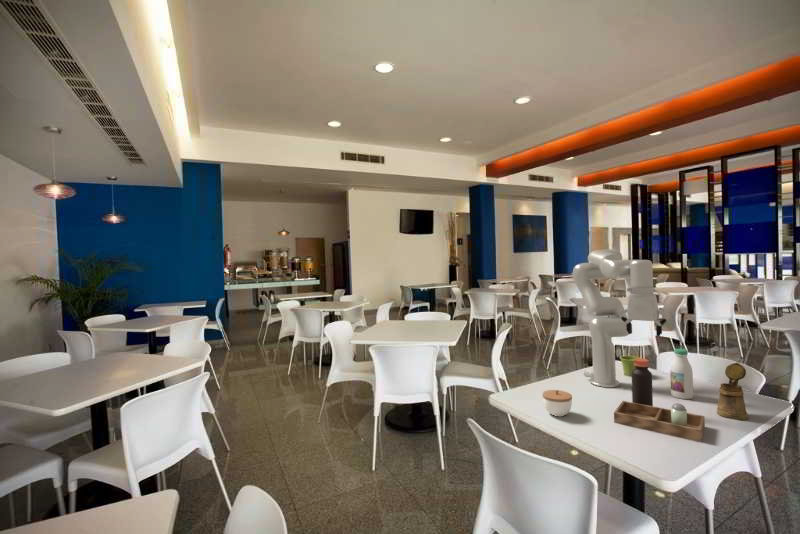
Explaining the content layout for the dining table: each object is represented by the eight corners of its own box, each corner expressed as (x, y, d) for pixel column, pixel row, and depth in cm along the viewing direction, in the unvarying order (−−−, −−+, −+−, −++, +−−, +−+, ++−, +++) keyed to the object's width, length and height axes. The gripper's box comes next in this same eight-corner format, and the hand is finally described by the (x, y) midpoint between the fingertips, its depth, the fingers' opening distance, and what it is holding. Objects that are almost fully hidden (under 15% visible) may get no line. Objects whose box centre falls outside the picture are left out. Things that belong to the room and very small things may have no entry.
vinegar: (643, 406, 155) (642, 357, 155) (657, 412, 149) (655, 361, 148) (628, 408, 154) (627, 358, 154) (641, 414, 147) (640, 362, 147)
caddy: (614, 424, 140) (613, 412, 140) (623, 412, 150) (622, 400, 150) (701, 444, 123) (701, 430, 123) (704, 428, 134) (704, 416, 134)
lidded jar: (538, 409, 156) (537, 386, 156) (563, 407, 157) (563, 384, 157) (551, 420, 146) (550, 395, 146) (578, 418, 147) (577, 393, 146)
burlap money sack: (754, 412, 146) (752, 364, 145) (744, 422, 138) (743, 372, 137) (724, 405, 153) (722, 360, 152) (713, 415, 145) (712, 367, 144)
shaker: (670, 429, 133) (669, 404, 133) (672, 425, 136) (671, 400, 136) (686, 433, 130) (685, 407, 130) (687, 428, 133) (687, 403, 133)
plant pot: (618, 375, 194) (617, 358, 194) (622, 371, 202) (621, 354, 201) (640, 379, 188) (639, 361, 188) (643, 374, 196) (642, 357, 195)
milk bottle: (685, 393, 168) (684, 347, 167) (697, 399, 160) (696, 351, 159) (667, 393, 168) (665, 347, 168) (678, 399, 161) (676, 352, 160)
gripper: (615, 291, 155) (616, 334, 155) (666, 292, 143) (668, 338, 143) (620, 290, 161) (622, 331, 161) (670, 290, 149) (672, 335, 149)
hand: (644, 334), depth 152 cm, fingers open, 9 cm apart
